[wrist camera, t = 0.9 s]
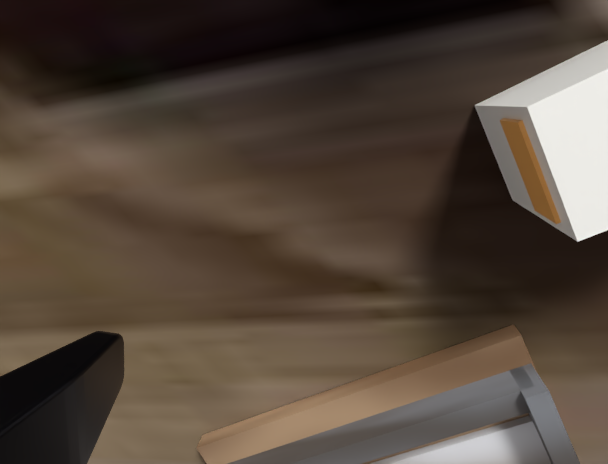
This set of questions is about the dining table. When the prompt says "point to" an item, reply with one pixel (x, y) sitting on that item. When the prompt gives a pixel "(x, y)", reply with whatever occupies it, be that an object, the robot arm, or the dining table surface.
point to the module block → (556, 142)
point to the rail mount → (414, 415)
